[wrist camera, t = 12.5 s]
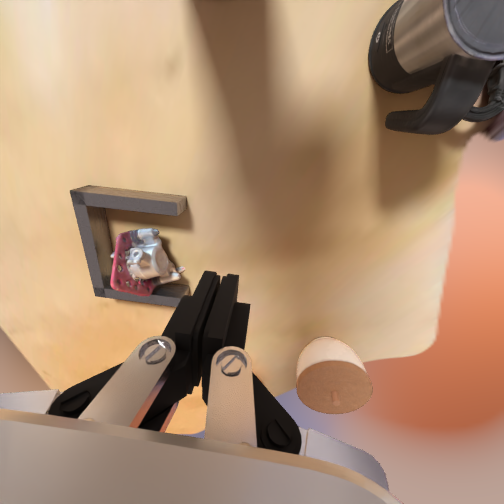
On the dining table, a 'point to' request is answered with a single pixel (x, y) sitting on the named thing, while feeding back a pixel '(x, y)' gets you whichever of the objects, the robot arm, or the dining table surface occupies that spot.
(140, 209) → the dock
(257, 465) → the robot arm
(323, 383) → the lidded bowl
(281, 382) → the dining table surface
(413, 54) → the milk frother
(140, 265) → the brake caliper
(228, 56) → the dining table surface
